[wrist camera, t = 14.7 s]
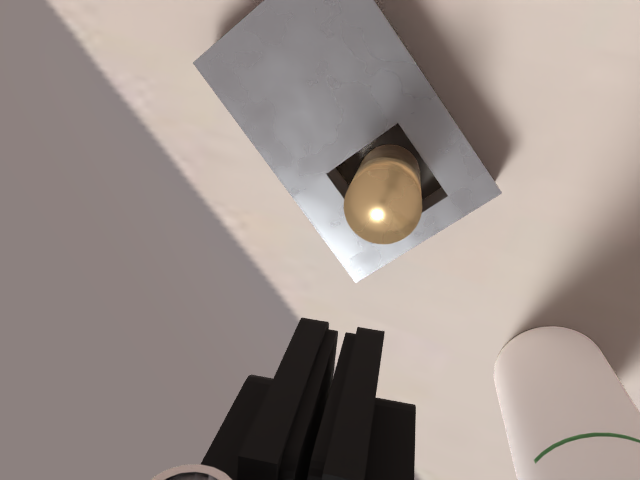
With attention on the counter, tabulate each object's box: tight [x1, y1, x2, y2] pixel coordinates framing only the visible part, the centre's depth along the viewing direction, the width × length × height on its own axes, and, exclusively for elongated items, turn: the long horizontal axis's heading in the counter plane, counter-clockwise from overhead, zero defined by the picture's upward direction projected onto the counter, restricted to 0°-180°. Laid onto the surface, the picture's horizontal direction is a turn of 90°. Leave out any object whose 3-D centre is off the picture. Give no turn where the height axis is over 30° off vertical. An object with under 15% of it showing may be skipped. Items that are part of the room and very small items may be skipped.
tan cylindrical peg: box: [344, 144, 422, 244], centre depth 30 cm, size 4×4×8 cm
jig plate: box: [193, 0, 502, 283], centre depth 32 cm, size 16×10×3 cm, turn 37°
